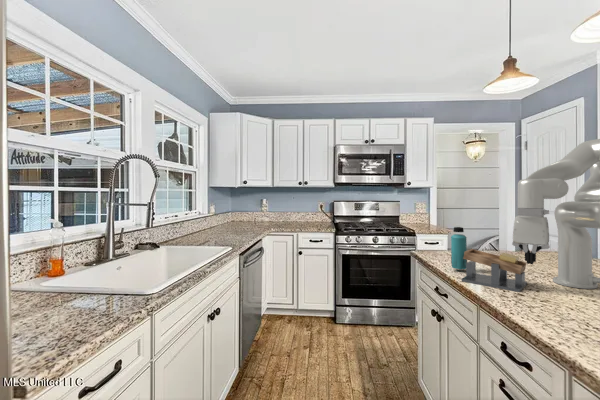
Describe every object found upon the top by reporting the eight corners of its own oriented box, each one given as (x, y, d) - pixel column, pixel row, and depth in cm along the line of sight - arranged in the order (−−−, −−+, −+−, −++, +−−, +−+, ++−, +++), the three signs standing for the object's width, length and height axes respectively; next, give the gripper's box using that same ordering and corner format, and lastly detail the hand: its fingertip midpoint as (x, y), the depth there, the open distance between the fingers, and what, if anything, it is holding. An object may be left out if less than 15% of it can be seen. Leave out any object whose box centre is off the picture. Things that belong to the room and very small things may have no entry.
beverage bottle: (469, 273, 130) (469, 228, 130) (453, 272, 132) (453, 227, 131) (464, 269, 137) (464, 226, 136) (449, 268, 138) (448, 226, 138)
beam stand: (526, 284, 113) (526, 261, 113) (519, 292, 104) (519, 267, 104) (472, 275, 127) (472, 254, 127) (461, 281, 118) (461, 259, 118)
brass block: (517, 264, 112) (519, 256, 111) (514, 266, 108) (516, 258, 108) (502, 260, 115) (503, 252, 115) (498, 262, 112) (500, 254, 112)
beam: (524, 270, 112) (526, 262, 111) (520, 274, 106) (521, 266, 106) (470, 255, 125) (471, 248, 125) (463, 258, 120) (464, 251, 119)
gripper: (559, 213, 104) (558, 265, 104) (508, 211, 115) (508, 258, 115) (556, 214, 99) (556, 268, 99) (503, 212, 109) (503, 261, 110)
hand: (530, 263), depth 107 cm, fingers closed
